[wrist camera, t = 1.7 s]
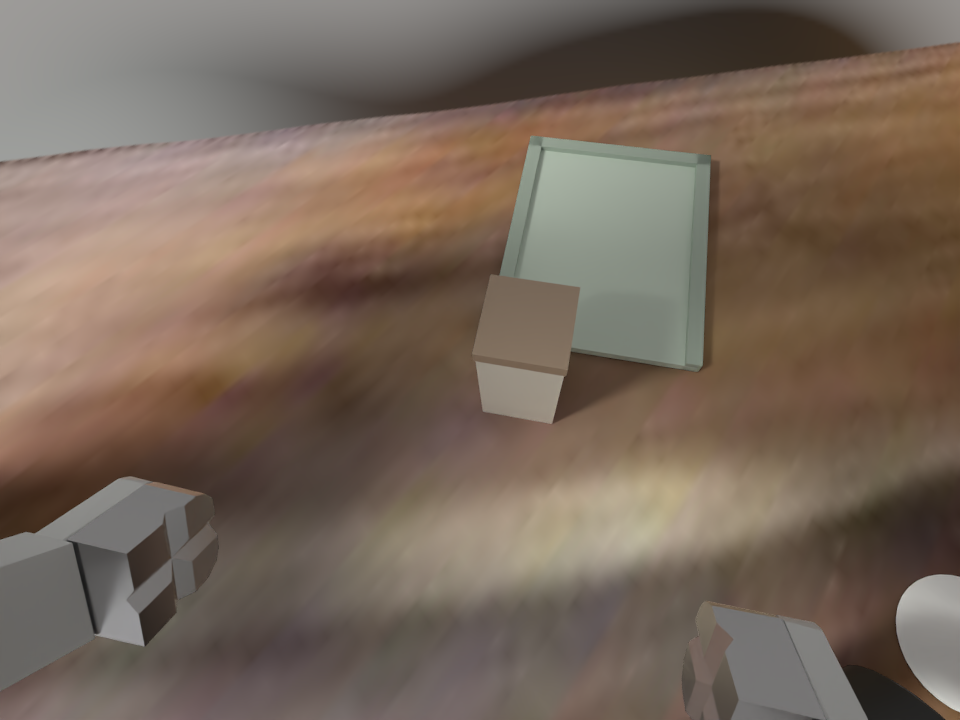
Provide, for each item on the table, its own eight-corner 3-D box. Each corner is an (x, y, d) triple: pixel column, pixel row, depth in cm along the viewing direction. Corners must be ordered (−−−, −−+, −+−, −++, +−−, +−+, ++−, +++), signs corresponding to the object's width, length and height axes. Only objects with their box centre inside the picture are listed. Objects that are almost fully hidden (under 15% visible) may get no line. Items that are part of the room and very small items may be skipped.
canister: (480, 412, 34) (471, 354, 25) (494, 348, 36) (490, 274, 27) (553, 425, 33) (567, 370, 25) (563, 359, 35) (580, 287, 27)
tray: (487, 337, 36) (486, 331, 35) (530, 145, 43) (531, 135, 42) (697, 371, 34) (702, 365, 33) (706, 165, 41) (710, 155, 40)
